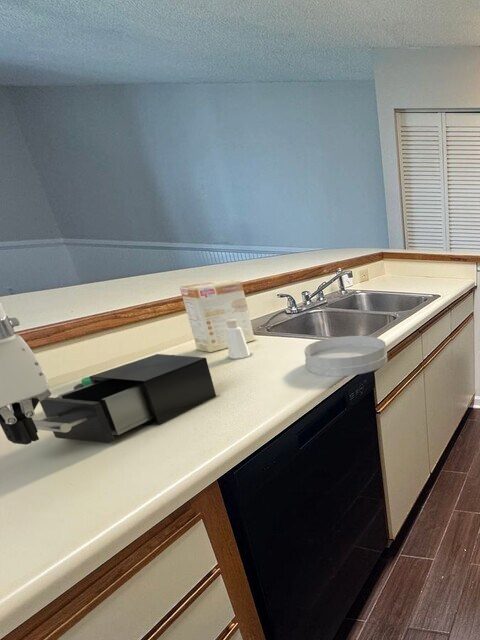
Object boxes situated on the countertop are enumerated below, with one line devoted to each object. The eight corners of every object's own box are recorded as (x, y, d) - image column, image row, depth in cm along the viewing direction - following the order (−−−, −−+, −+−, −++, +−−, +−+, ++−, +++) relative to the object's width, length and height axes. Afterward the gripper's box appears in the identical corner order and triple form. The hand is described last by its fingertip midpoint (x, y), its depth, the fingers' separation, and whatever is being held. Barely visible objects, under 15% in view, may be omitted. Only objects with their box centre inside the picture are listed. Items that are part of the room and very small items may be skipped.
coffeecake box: (241, 337, 143) (227, 279, 136) (256, 340, 140) (243, 281, 133) (195, 349, 130) (178, 285, 123) (211, 352, 128) (194, 287, 120)
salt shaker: (236, 352, 128) (228, 317, 124) (254, 353, 128) (246, 317, 124) (224, 358, 123) (215, 321, 119) (243, 359, 123) (234, 322, 119)
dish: (371, 378, 111) (369, 360, 109) (290, 374, 112) (286, 356, 110) (397, 352, 132) (396, 337, 130) (329, 349, 133) (326, 334, 131)
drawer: (82, 456, 72) (65, 415, 69) (27, 449, 74) (8, 409, 71) (174, 411, 89) (163, 377, 86) (127, 407, 90) (115, 373, 87)
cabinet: (159, 425, 85) (144, 381, 81) (105, 419, 87) (88, 376, 83) (216, 396, 98) (206, 357, 95) (169, 392, 100) (157, 353, 96)
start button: (79, 387, 92) (76, 380, 92) (96, 381, 96) (93, 374, 95) (93, 389, 92) (90, 381, 91) (110, 383, 95) (107, 375, 95)
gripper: (15, 320, 69) (58, 419, 76) (-124, 346, 56) (-56, 464, 63) (53, 322, 68) (94, 422, 75) (-79, 349, 55) (-15, 469, 62)
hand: (25, 441), depth 69 cm, fingers closed
